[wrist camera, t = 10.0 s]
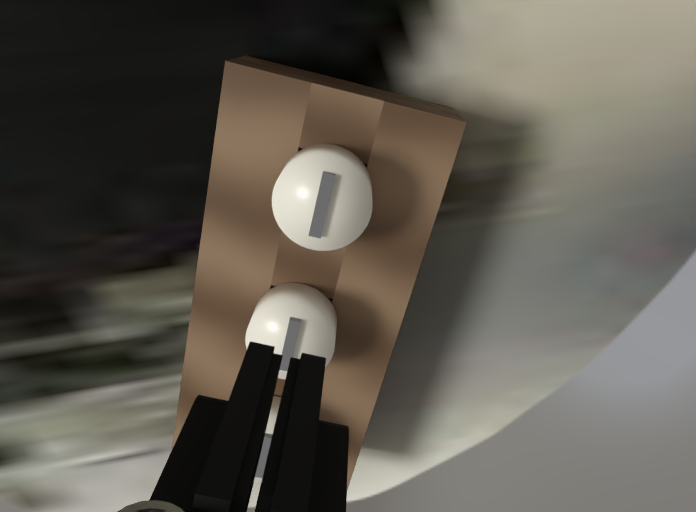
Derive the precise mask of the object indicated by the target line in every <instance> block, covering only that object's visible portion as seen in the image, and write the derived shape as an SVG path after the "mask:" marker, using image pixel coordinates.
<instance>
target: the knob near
mask: <svg viewBox="0 0 696 512" xmlns="http://www.w3.org/2000/svg"><path fill="white" fill-rule="evenodd" d="M372 205H373V202H372V184H371V179H370V176H369V173H368V171H367V169H366V167H365V165H364V164H363V162H362V161H361V160H360V159H359V158H358V157H357V156H356V155H355V154H354V153H352V152H351V151H349V150H347V149H345V148H343V147H340V146H337V145H333V144H316V145H311V146H308V147H306V148H304V149H302V150H300V151H299V152H297V153H296V154H294V155H293V156H292V157H291V158H290V160H289V161H288V162H287V163H286V165H285V167H284V169H283V170H282V172H281V174H280V176H279V177H278V179H277V181H276V183H275V186H274V189H273V193H272V209H273V214H274V217H275V220H276V222H277V224H278V226H279V227H280V229H281V230H282V231H283V233H284V234H285V235H286V236H287V237H288V238H289V239H291V240H292V241H293V242H295V243H297V244H298V245H300V246H302V247H305V248H308V249H311V250H317V251H331V250H336V249H339V248H342V247H344V246H347V245H349V244H350V243H352V242H353V241H355V240H356V239H357V238H358V237H359V236H360V235H361V234H362V233H363V231H364V230H365V228H366V227H367V225H368V223H369V220H370V218H371V214H372Z"/></svg>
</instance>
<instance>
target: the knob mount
mask: <svg viewBox="0 0 696 512" xmlns="http://www.w3.org/2000/svg"><path fill="white" fill-rule="evenodd" d="M466 124H467V122H466V121H465V120H464V119H463V118H462V117H461V116H460V115H459V114H458V113H457V112H456V111H455V110H453V109H452V108H451V107H447V106H443V105H439V104H435V103H431V102H427V101H423V100H419V99H415V98H411V97H407V96H404V95H400V94H396V93H392V92H388V91H384V90H380V89H376V88H372V87H368V86H364V85H360V84H356V83H353V82H349V81H345V80H341V79H337V78H333V77H329V76H325V75H321V74H317V73H313V72H309V71H305V70H302V69H298V68H294V67H290V66H286V65H282V64H278V63H274V62H270V61H266V60H262V59H258V58H254V57H250V56H243V57H239V58H235V59H231V60H227V61H225V67H224V75H223V82H222V89H221V96H220V104H219V111H218V118H217V126H216V133H215V140H214V147H213V155H212V162H211V169H210V177H209V184H208V191H207V198H206V206H205V213H204V220H203V227H202V235H201V242H200V249H199V257H198V264H197V271H196V278H195V286H194V293H193V300H192V308H191V315H190V322H189V329H188V337H187V344H186V351H185V358H184V366H183V373H182V380H181V388H180V395H179V402H178V409H177V417H176V424H175V431H174V438H173V446H172V449H173V447H174V445H175V443H176V440H177V438H178V436H179V434H180V432H181V429H182V427H183V425H184V423H185V420H186V418H187V416H188V414H189V412H190V409H191V407H192V405H193V403H194V401H195V399H196V397H197V396H198V395H203V396H207V397H212V398H217V399H222V400H226V401H228V400H229V398H230V395H231V392H232V389H233V387H234V384H235V381H236V378H237V376H238V373H239V370H240V367H241V365H242V362H243V359H244V356H245V353H246V351H247V349H246V344H245V337H246V331H247V328H248V325H249V323H250V320H251V318H252V315H253V312H254V310H255V307H256V305H257V303H258V301H259V299H260V298H261V297H262V296H263V295H264V294H265V293H266V292H267V291H268V290H270V289H272V288H274V287H276V286H278V285H282V284H287V283H299V284H305V285H308V286H311V287H313V288H315V289H317V290H319V291H320V292H322V293H323V294H324V295H325V296H326V297H327V298H328V299H329V300H330V302H331V303H332V305H333V307H334V309H335V312H336V316H337V328H336V339H335V349H334V353H333V356H332V358H331V360H330V362H329V363H328V365H327V366H326V367H325V373H324V381H323V390H322V398H321V407H320V415H319V420H322V421H327V422H331V423H336V424H341V425H346V426H348V427H349V448H348V472H347V489H348V486H349V483H350V480H351V477H352V474H353V471H354V468H355V465H356V461H357V458H358V455H359V452H360V449H361V446H362V443H363V440H364V437H365V434H366V431H367V428H368V425H369V422H370V418H371V415H372V412H373V409H374V406H375V403H376V400H377V397H378V394H379V391H380V388H381V385H382V382H383V379H384V375H385V372H386V369H387V366H388V363H389V360H390V357H391V354H392V351H393V348H394V345H395V342H396V339H397V336H398V332H399V329H400V326H401V323H402V320H403V317H404V314H405V311H406V308H407V305H408V302H409V299H410V296H411V293H412V290H413V286H414V283H415V280H416V277H417V274H418V271H419V268H420V265H421V262H422V259H423V256H424V253H425V250H426V247H427V243H428V240H429V237H430V234H431V231H432V228H433V225H434V222H435V219H436V216H437V213H438V210H439V207H440V204H441V200H442V197H443V194H444V191H445V188H446V185H447V182H448V179H449V176H450V173H451V170H452V167H453V164H454V161H455V157H456V154H457V151H458V148H459V145H460V142H461V139H462V136H463V133H464V130H465V127H466ZM316 144H333V145H337V146H340V147H343V148H345V149H347V150H349V151H351V152H352V153H354V154H355V155H356V156H357V157H358V158H359V159H360V160H361V161H362V162H363V164H364V165H365V167H366V169H367V171H368V173H369V176H370V179H371V184H372V202H373V205H372V214H371V218H370V220H369V223H368V225H367V227H366V228H365V230H364V231H363V233H362V234H361V235H360V236H359V237H358V238H357V239H356V240H355V241H353V242H352V243H350V244H349V245H347V246H344V247H342V248H339V249H336V250H331V251H317V250H311V249H308V248H305V247H302V246H300V245H298V244H297V243H295V242H293V241H292V240H291V239H289V238H288V237H287V236H286V235H285V234H284V233H283V231H282V230H281V229H280V227H279V226H278V224H277V222H276V220H275V217H274V214H273V209H272V193H273V189H274V186H275V183H276V181H277V179H278V177H279V176H280V174H281V172H282V170H283V169H284V167H285V165H286V163H287V162H288V161H289V160H290V158H291V157H292V156H293V155H294V154H296V153H297V152H299V151H300V150H302V149H304V148H306V147H308V146H311V145H316ZM284 384H285V379H280V378H278V379H277V383H276V388H275V392H274V396H277V397H281V396H282V392H283V388H284Z"/></svg>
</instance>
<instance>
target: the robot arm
mask: <svg viewBox="0 0 696 512" xmlns="http://www.w3.org/2000/svg"><path fill="white" fill-rule="evenodd" d="M274 348H275V347H274V346H270V345H265V344H260V343H256V342H251V341H250V343H249V345H248V348H247V351H246V353H245V356H244V359H243V362H242V365H241V367H240V370H239V373H238V376H237V378H236V381H235V384H234V387H233V389H232V392H231V395H230V398H229V400H228V401H226V400H222V399H217V398H212V397H207V396H203V395H198V396H197V397H196V399H195V401H194V403H193V405H192V407H191V409H190V412H189V414H188V416H187V418H186V420H185V423H184V425H183V427H182V429H181V432H180V434H179V436H178V438H177V440H176V443H175V445H174V447H173V449H172V451H171V454H170V456H169V458H168V460H167V463H166V465H165V467H164V469H163V471H162V474H161V476H160V478H159V480H158V483H157V485H156V487H155V489H154V491H153V494H152V496H151V498H150V500H149V501H141V502H138V503H135V504H131V505H128V506H126V507H124V508H123V509H121V510H120V511H118V512H247V508H248V503H249V499H250V495H251V491H252V487H253V483H254V479H255V475H256V471H257V466H258V462H259V458H260V454H261V450H262V445H263V441H264V436H265V432H266V428H267V423H268V419H269V414H270V410H271V406H272V401H273V397H274V392H275V388H276V383H277V379H278V375H279V370H280V366H281V361H282V357H283V355H279V354H274ZM325 364H326V358H325V357H320V356H315V355H311V354H306V353H302V354H301V357H300V359H297V358H293V357H291V358H290V362H289V366H288V371H287V375H286V379H285V384H284V388H283V392H282V396H281V401H280V405H279V409H278V413H277V418H276V422H275V426H274V430H273V435H272V439H271V443H270V447H269V452H268V456H267V460H266V465H265V469H264V474H263V478H262V482H261V487H260V491H259V496H258V500H257V505H256V509H255V512H346V496H347V472H348V448H349V427H348V426H346V425H341V424H336V423H331V422H327V421H322V420H319V415H320V407H321V398H322V390H323V381H324V373H325Z"/></svg>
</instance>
